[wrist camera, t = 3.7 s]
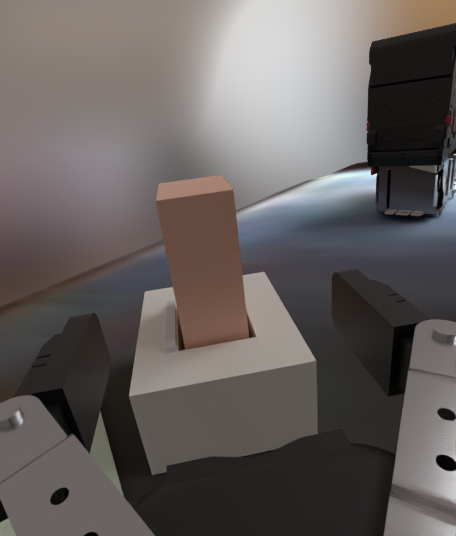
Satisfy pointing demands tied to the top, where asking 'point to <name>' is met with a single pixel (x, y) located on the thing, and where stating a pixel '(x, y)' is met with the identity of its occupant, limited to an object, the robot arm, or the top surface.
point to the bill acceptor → (413, 121)
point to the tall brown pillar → (204, 259)
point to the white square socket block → (221, 383)
